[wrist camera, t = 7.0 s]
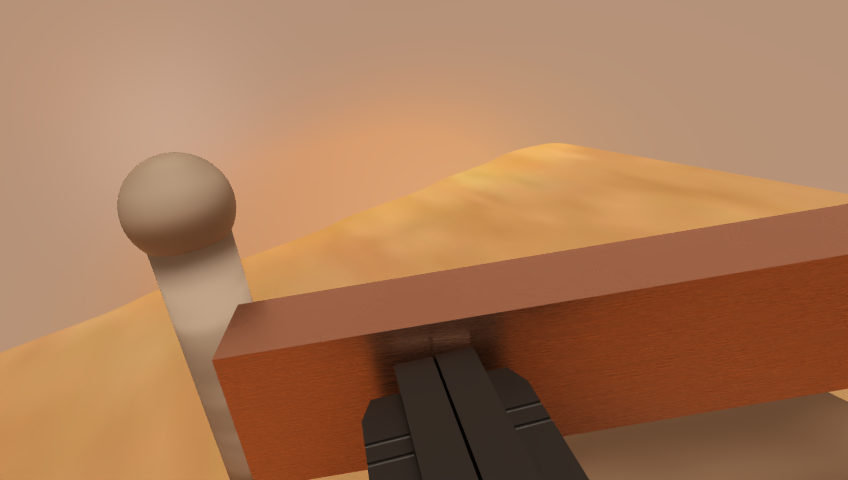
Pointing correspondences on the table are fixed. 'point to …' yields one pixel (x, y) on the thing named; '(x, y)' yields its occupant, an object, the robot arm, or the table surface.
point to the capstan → (553, 336)
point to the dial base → (595, 451)
